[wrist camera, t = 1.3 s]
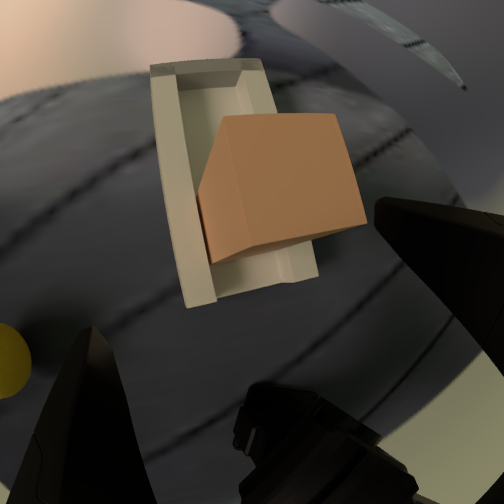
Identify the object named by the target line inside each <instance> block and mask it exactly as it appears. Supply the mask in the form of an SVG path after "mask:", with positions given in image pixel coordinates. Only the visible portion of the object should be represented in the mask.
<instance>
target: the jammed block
mask: <svg viewBox="0 0 504 504" xmlns="http://www.w3.org/2000/svg"><path fill="white" fill-rule="evenodd" d="M196 204H197V209H198V214H199V219H200V224H201V229H202V234H203V239H204V244H205V249H206V254H207V258H208V263H209V265H211V264H216V263H221V262H226V261H230V260H235V259H240V258H245V257H249V256H254V255H259V254H264V253H268V252H273V251H276V250H279V249H283V248H286V247H289V246H293V245H296V244H300V243H303V242H306V241H310V240H313V239H316V238H320V237H323V236H326V235H330V234H333V233H336V232H340V231H343V230H346V229H350V228H353V227H356V226H360V225H363V224H366V223H367V220H366V216H365V212H364V208H363V204H362V200H361V196H360V192H359V189H358V185H357V182H356V178H355V175H354V171H353V168H352V165H351V161H350V158H349V155H348V152H347V149H346V145H345V142H344V139H343V136H342V133H341V130H340V128H339V125H338V122H337V119H336V116H335V114H322V113H271V114H248V115H232V116H223V118H222V121H221V124H220V126H219V129H218V132H217V135H216V138H215V141H214V144H213V146H212V149H211V152H210V155H209V158H208V161H207V164H206V167H205V170H204V174H203V177H202V180H201V183H200V186H199V189H198V192H197V196H196Z"/></svg>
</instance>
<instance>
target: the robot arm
mask: <svg viewBox="0 0 504 504" xmlns="http://www.w3.org/2000/svg"><path fill="white" fill-rule="evenodd" d="M374 226H375V228H376V230H377V231H378V232H379V233H380V235H381V236H382V237H383V238H384V239H385V240H386V241H387V243H388V244H389V245H390V246H391V247H392V248H393V250H394V251H395V252H396V253H397V254H398V256H399V257H400V258H401V259H402V260H403V261H404V262H405V263H406V264H407V265H408V266H409V267H410V268H411V269H412V270H413V272H414V273H415V274H416V275H417V276H418V277H419V278H420V279H421V280H422V281H423V282H424V283H425V284H426V285H427V286H428V287H429V288H430V289H431V290H432V291H433V292H434V293H435V294H436V296H437V297H438V298H439V299H440V300H441V301H442V302H443V303H444V304H445V305H446V306H447V308H448V309H449V310H450V311H451V312H452V313H453V314H454V315H455V317H456V318H457V319H458V320H459V321H460V322H461V324H462V325H463V326H464V327H465V328H466V329H467V331H468V332H469V333H470V334H471V335H472V337H473V338H474V339H475V340H476V341H477V343H478V344H479V345H480V346H481V348H482V349H483V350H484V352H485V353H486V354H487V355H488V357H489V358H490V359H491V361H492V362H493V363H494V364H495V366H496V367H497V368H498V370H499V371H500V372H501V374H502V375H503V376H504V216H503V215H498V214H493V213H487V212H482V211H476V210H471V209H466V208H460V207H454V206H448V205H442V204H436V203H429V202H422V201H415V200H408V199H400V198H392V197H383V198H380V199H378V200H376V201H375V203H374ZM254 389H257V391H256V392H254V393H253V390H254ZM312 396H314V398H313V399H311V397H312ZM318 397H319V396H318V394H317V393H315V392H311V391H302V390H293V389H285V388H277V387H270V386H263V385H257V384H253V385H251V386H250V387H249V389H248V393H247V396H246V400H245V403H244V406H242V407H240V409H239V413H238V416H237V420H236V423H235V426H234V430H233V432H234V434H235V437H234V440H233V447H234V449H236V450H241V451H243V453H244V454H245V455H246V456H250V457H251V459H252V460H253V462H254V464H255V466H256V468H255V469H254V470H253V471H252V472H251V473H250V474H249V475H248V476H247V477H246V478H245V479H244V480H243V481H242V482H241V483H240V484H239V493H240V495H241V504H439V503H437V502H435V501H432V500H430V499H428V498H425V497H423V496H421V495H419V494H417V493H416V492H417V491H418V490H419V487H418V485H417V483H416V481H415V478H414V477H413V476H412V475H410V474H409V473H408V471H407V468H406V466H405V465H404V464H402V463H401V462H399V461H398V460H396V459H395V458H394V457H392V456H391V455H389V454H388V453H387V452H385V451H384V450H382V449H381V448H380V447H378V446H377V445H378V443H379V442H380V441H381V439H382V438H383V436H381V435H380V434H378V433H376V432H375V431H373V430H372V429H370V428H368V427H367V426H365V425H364V424H362V423H361V422H359V421H357V420H356V419H354V418H353V417H351V416H350V415H348V414H347V413H345V412H344V411H342V410H341V409H339V408H338V407H336V406H335V405H333V404H332V403H330V402H328V401H327V400H325V399H324V398H323V397H321V398H320V399H319V400H318ZM316 404H317V405H316ZM237 444H239V446H236V445H237ZM6 504H157V502H156V499H155V496H154V494H153V491H152V488H151V485H150V482H149V479H148V476H147V473H146V470H145V467H144V464H143V461H142V457H141V454H140V450H139V447H138V443H137V440H136V436H135V432H134V428H133V424H132V420H131V416H130V412H129V407H128V403H127V399H126V395H125V392H124V388H123V385H122V382H121V379H120V375H119V372H118V369H117V365H116V362H115V358H114V354H113V351H112V348H111V346H110V345H109V343H108V342H107V341H106V340H105V338H104V337H103V336H102V335H101V334H100V332H99V331H98V330H97V329H96V328H95V327H94V326H90V327H88V328H85V329H83V330H81V331H80V333H79V334H78V336H77V338H76V340H75V342H74V344H73V346H72V348H71V350H70V352H69V354H68V356H67V358H66V360H65V362H64V364H63V366H62V368H61V370H60V372H59V374H58V376H57V378H56V380H55V382H54V385H53V387H52V389H51V391H50V393H49V396H48V398H47V400H46V402H45V405H44V407H43V409H42V412H41V414H40V417H39V419H38V421H37V424H36V426H35V429H34V434H32V437H31V439H30V442H29V445H28V448H27V450H26V453H25V456H24V458H23V461H22V463H21V466H20V468H19V471H18V473H17V476H16V478H15V481H14V484H13V486H12V489H11V491H10V494H9V497H8V500H7V502H6ZM475 504H504V472H503V474H502V475H501V476H500V477H499V478H498V480H497V481H496V482H495V483H494V484H493V485H492V486H491V487H490V489H489V490H488V491H487V492H486V493H485V494H484V495H483V496H482V497H481V498H480V499H479V500H478V501H477V502H476V503H475Z"/></svg>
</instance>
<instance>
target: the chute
mask: <svg viewBox="0 0 504 504" xmlns="http://www.w3.org/2000/svg"><path fill="white" fill-rule="evenodd" d="M150 84H151V98H152V109H153V119H154V128H155V137H156V145H157V153H158V160H159V168H160V175H161V181H162V188H163V194H164V201H165V207H166V213H167V218H168V224H169V229H170V235H171V240H172V245H173V250H174V255H175V260H176V265H177V270H178V275H179V279H180V284H181V289H182V293H183V297H184V302H185V305H186V307H187V308H191V307H195V306H200V305H204V304H209V303H213V302H217V299H216V298H220V297H224V296H228V295H232V294H237V293H241V292H245V291H249V290H253V289H257V288H262V287H266V286H270V285H274V284H278V283H282V282H298V281H302V280H306V279H309V278H313V277H317V276H319V275H318V270H317V265H316V260H315V256H314V251H313V247H312V242H311V240H310V241H306V242H303V243H300V244H296V245H293V246H289V247H286V248H283V249H279V250H276V251H273V252H268V253H264V254H259V255H254V256H249V257H245V258H240V259H235V260H230V261H226V262H221V263H216V264H211V265H209V263H208V258H207V254H206V249H205V244H204V239H203V234H202V229H201V224H200V219H199V214H198V209H197V204H196V196H197V192H198V189H199V186H200V183H201V180H202V177H203V174H204V170H205V167H206V164H207V161H208V158H209V155H210V152H211V149H212V146H213V144H214V141H215V138H216V135H217V132H218V129H219V126H220V124H221V121H222V118H223V116H232V115H248V114H271V113H277V109H276V106H275V103H274V100H273V96H272V93H271V90H270V87H269V84H268V81H267V78H266V75H265V71H264V68H263V65H262V62H261V59H248V58H237V59H205V60H191V61H179V62H170V63H161V64H154V65H150Z"/></svg>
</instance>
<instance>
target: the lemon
mask: <svg viewBox="0 0 504 504" xmlns="http://www.w3.org/2000/svg"><path fill="white" fill-rule="evenodd" d="M30 372H31V355H30V351H29V348H28V346H27V344H26V342H25V340H24V339H23V337H22V336H21V335H20V334H19V333H18V332H17V331H16V330H15V329H14V328H12V327H10V326H8V325H6V324H2V323H0V399H2V398H7V397H10V396H13V395H14V394H16V393H17V392H18V391H20V390H21V389H22V388H23V387H24V385H25V384H26V382H27V381H28V379H29V376H30Z"/></svg>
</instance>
